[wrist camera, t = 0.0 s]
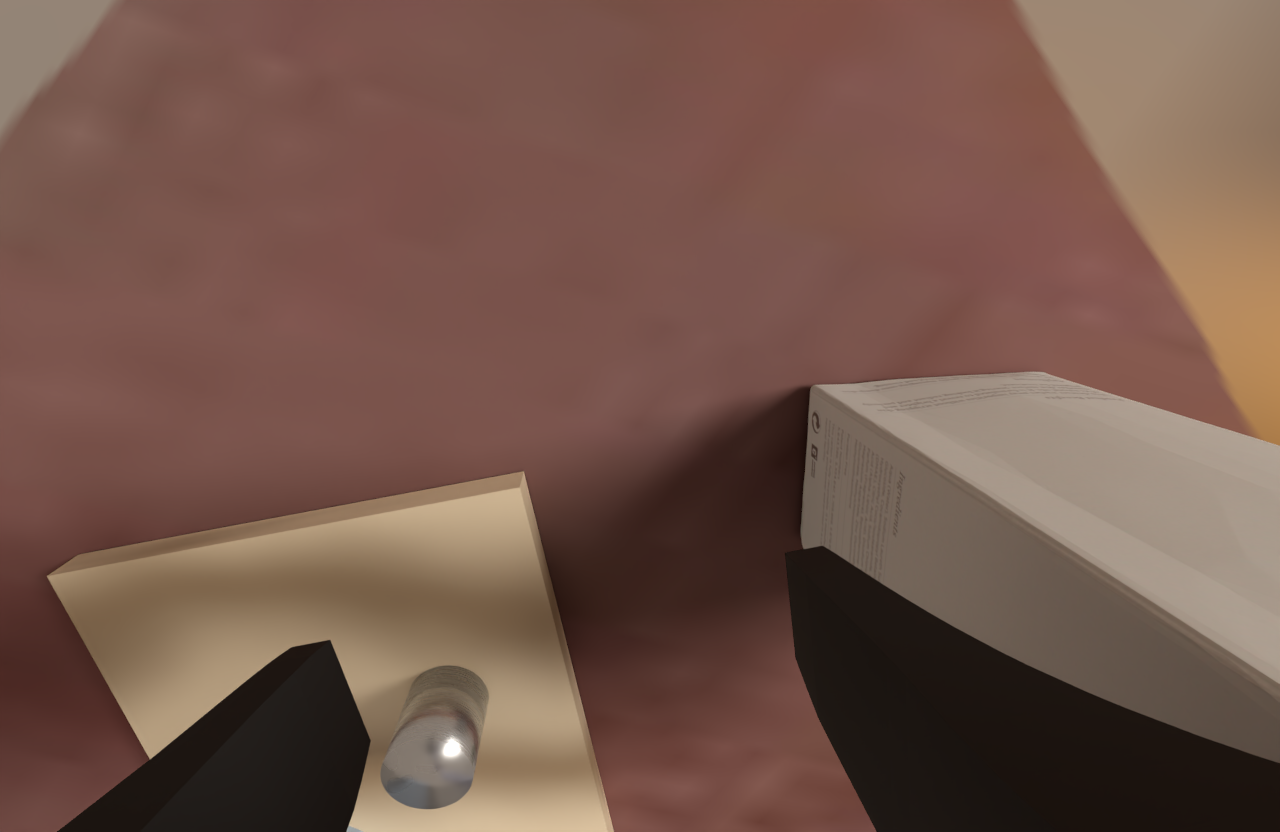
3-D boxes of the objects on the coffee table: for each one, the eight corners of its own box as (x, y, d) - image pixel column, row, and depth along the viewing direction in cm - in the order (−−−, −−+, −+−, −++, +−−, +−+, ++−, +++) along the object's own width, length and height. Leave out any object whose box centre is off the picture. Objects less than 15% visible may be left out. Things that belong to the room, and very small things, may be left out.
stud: (496, 720, 21) (483, 799, 18) (421, 734, 21) (395, 816, 18) (477, 658, 20) (460, 731, 17) (399, 673, 20) (368, 750, 17)
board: (630, 899, 26) (633, 931, 25) (299, 967, 26) (286, 1002, 25) (523, 471, 20) (519, 487, 18) (78, 554, 19) (46, 576, 18)
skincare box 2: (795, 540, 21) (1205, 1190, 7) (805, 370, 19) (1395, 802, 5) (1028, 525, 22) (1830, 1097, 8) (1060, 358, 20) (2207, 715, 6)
